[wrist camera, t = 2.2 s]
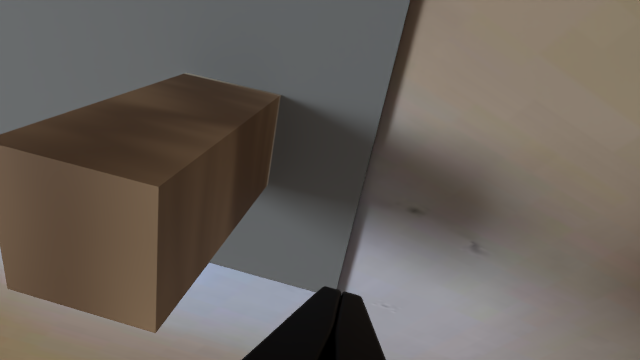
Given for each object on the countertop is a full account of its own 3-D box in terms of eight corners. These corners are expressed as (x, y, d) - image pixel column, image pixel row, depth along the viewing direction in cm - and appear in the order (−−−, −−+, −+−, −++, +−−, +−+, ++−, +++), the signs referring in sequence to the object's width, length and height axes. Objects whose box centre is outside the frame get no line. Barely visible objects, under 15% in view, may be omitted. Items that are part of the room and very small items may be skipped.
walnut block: (280, 94, 16) (158, 186, 8) (267, 184, 18) (155, 333, 10) (186, 72, 17) (-18, 140, 9) (182, 162, 19) (7, 288, 10)
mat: (416, -24, 14) (415, -24, 14) (335, 292, 20) (334, 297, 20) (-45, -115, 16) (-55, -118, 16) (5, 200, 22) (-2, 203, 22)
